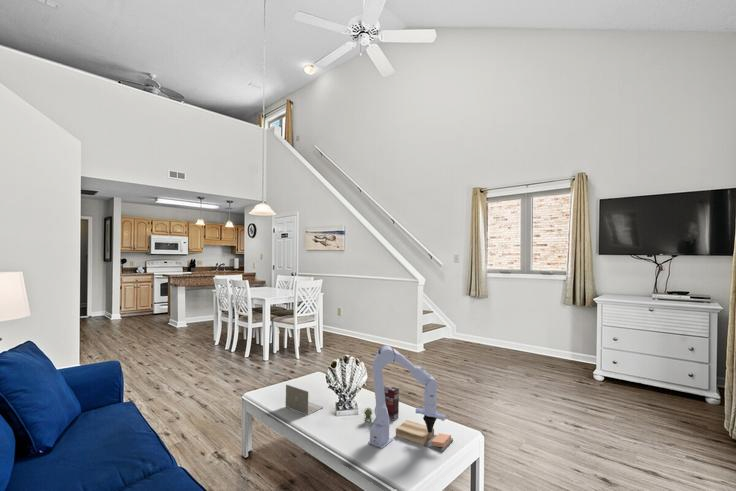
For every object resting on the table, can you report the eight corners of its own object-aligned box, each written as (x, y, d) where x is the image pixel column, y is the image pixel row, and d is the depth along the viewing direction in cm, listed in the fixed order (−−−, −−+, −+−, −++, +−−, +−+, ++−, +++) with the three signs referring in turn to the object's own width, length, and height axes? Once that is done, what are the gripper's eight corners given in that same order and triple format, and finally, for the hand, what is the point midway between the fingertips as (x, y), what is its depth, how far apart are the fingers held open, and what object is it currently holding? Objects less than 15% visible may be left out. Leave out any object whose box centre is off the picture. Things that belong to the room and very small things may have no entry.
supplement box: (380, 416, 200) (381, 386, 200) (386, 413, 203) (386, 384, 204) (393, 421, 194) (394, 390, 194) (399, 418, 198) (399, 388, 198)
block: (431, 441, 169) (431, 445, 169) (443, 443, 166) (443, 447, 166) (439, 433, 177) (439, 437, 176) (450, 435, 173) (451, 439, 173)
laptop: (323, 408, 210) (323, 385, 210) (307, 416, 200) (308, 391, 200) (301, 400, 221) (301, 378, 221) (285, 407, 210) (285, 384, 211)
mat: (442, 452, 164) (442, 449, 164) (424, 445, 170) (424, 443, 170) (452, 441, 174) (453, 438, 174) (434, 435, 179) (435, 432, 179)
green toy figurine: (366, 415, 201) (366, 401, 201) (384, 421, 193) (384, 407, 193) (351, 423, 191) (352, 408, 192) (369, 430, 184) (369, 415, 184)
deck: (423, 445, 170) (423, 437, 170) (395, 435, 179) (395, 428, 179) (433, 435, 179) (434, 428, 179) (406, 427, 188) (406, 420, 188)
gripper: (448, 403, 174) (447, 432, 174) (420, 396, 182) (420, 424, 182) (442, 408, 168) (441, 438, 168) (413, 401, 176) (413, 429, 176)
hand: (430, 431), depth 174 cm, fingers closed
